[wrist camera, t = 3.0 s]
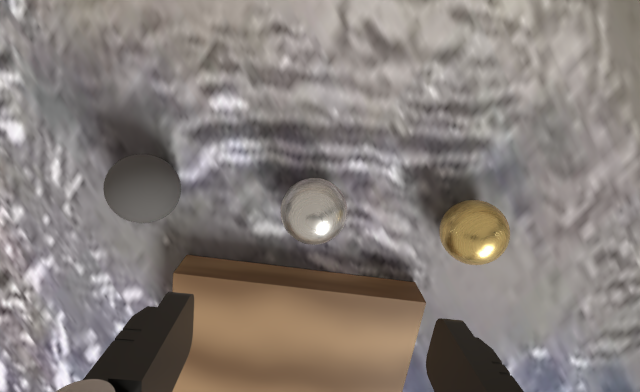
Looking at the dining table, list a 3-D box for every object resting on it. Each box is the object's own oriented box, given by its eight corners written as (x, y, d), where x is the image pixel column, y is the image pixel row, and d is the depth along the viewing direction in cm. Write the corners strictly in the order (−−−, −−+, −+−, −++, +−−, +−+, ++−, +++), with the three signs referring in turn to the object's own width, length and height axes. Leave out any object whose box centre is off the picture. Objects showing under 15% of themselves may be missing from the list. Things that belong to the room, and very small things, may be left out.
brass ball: (438, 188, 23) (464, 208, 19) (497, 196, 23) (534, 217, 19) (424, 243, 24) (446, 272, 20) (480, 251, 24) (512, 281, 21)
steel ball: (286, 167, 22) (282, 183, 18) (349, 175, 23) (356, 193, 19) (279, 225, 23) (273, 251, 20) (338, 232, 24) (344, 260, 20)
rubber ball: (125, 144, 22) (85, 156, 18) (191, 153, 22) (166, 167, 18) (126, 205, 23) (89, 228, 19) (188, 213, 23) (164, 238, 19)
